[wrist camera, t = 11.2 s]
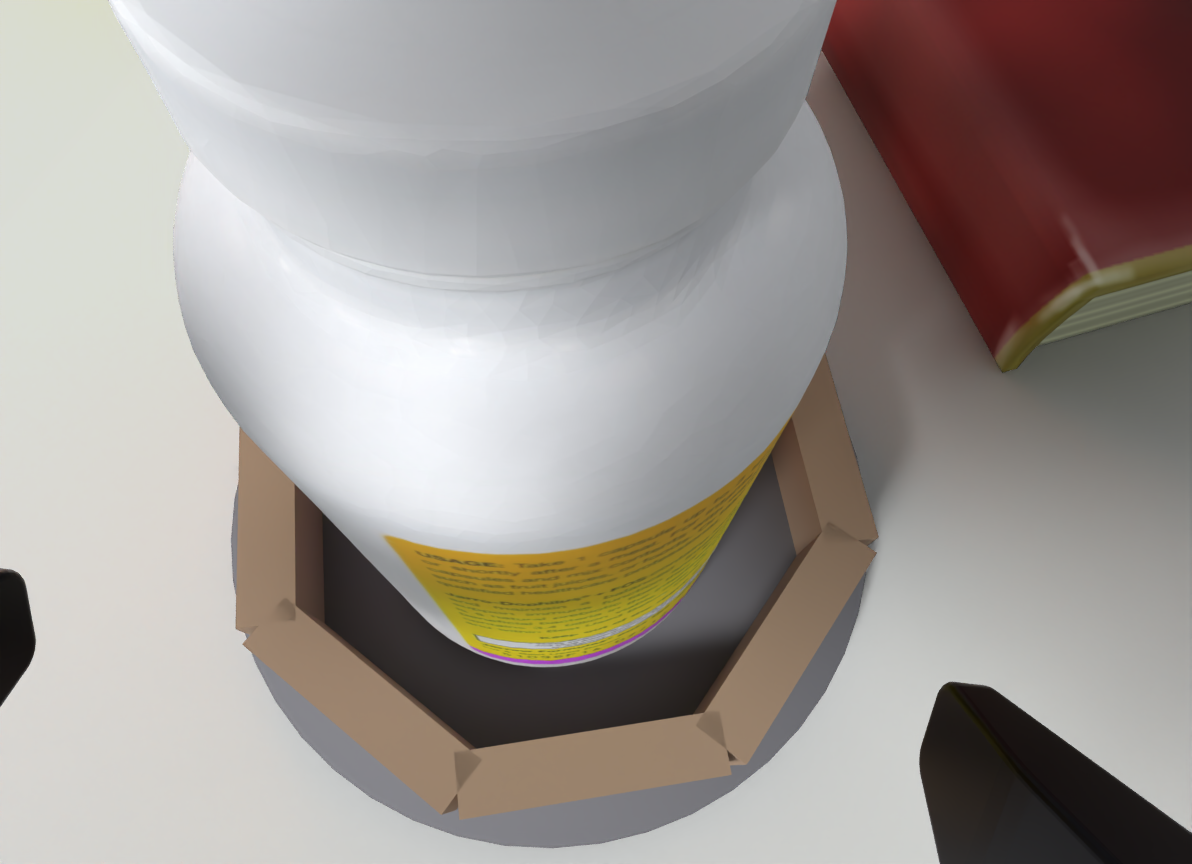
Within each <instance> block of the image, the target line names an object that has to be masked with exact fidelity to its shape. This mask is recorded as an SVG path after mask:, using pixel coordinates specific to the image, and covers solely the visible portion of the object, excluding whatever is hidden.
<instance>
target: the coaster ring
mask: <svg viewBox="0 0 1192 864" xmlns="http://www.w3.org/2000/svg"><path fill="white" fill-rule="evenodd" d="M877 538H878V533H877V530H876V526H875V523H874V519H873V516H872V513H871V509H870V506H869V502H868V499H867V495H866V492H865V489H864V485H863V482H862V478H861V474H860V470H859V465H858V461H857V456H856V453H855V450H854V448H853V445H852V442H851V439H850V437H849V434H848V430H847V427H846V423H845V420H844V416H843V413H842V409H841V406H840V403H839V399H838V396H837V392H836V389H835V385H834V382H833V379H832V375H831V372H830V368H829V365H828V361H827V358H826V355H825V353H824V355H823V357H822V359H821V361H820V363H819V365H818V367H817V370H816V372H815V374H814V376H813V378H812V380H811V382H810V384H809V386H808V387H807V389H806V391H805V393H804V395H803V397H802V399H801V401H800V403H799V404H798V406H797V408H796V410H795V411H794V413H793V415H792V417H791V418H790V420H789V422H788V423H787V425H786V427H785V428H784V430H783V432H782V434H781V435H780V437H779V439H778V440H777V442H776V444H775V446H774V447H773V449H772V451H771V453H770V454H769V456H768V458H767V460H766V461H765V463H764V465H763V467H762V468H761V470H760V472H759V473H758V475H757V477H756V479H755V480H754V482H753V484H752V486H751V487H750V489H749V491H748V493H747V494H746V496H745V498H744V499H743V501H742V503H741V505H740V506H739V508H738V510H737V512H736V513H735V515H734V517H733V519H732V520H731V522H730V524H729V526H728V527H727V529H726V531H725V532H724V534H723V536H722V538H721V539H720V541H719V543H718V545H717V547H716V549H715V551H714V552H713V553H712V555H711V557H710V558H709V560H708V562H707V563H706V565H705V567H704V568H703V570H702V572H701V573H700V575H699V576H698V578H697V579H696V581H695V582H694V584H693V585H692V587H691V589H690V590H689V591H688V593H687V594H686V596H685V597H684V598H683V600H682V601H681V602H680V603H679V604H678V605H677V607H676V608H675V609H674V610H673V611H672V612H671V613H670V614H669V616H668V617H667V618H665V619H664V620H663V621H662V622H661V623H660V624H659V625H658V626H657V627H655V628H654V629H653V630H651V631H650V632H649V633H647V634H646V635H645V636H643V637H642V638H640V639H638V640H637V641H635V642H634V643H632V644H630V645H628V646H626V647H624V648H623V649H621V650H619V651H617V652H614V653H612V654H609V655H606V656H603V657H601V658H598V659H595V660H592V661H588V662H584V663H579V664H574V665H568V666H559V667H531V666H522V665H514V664H509V663H505V662H501V661H498V660H494V659H490V658H488V657H485V656H482V655H479V654H477V653H475V652H473V651H471V650H469V649H467V648H465V647H463V646H461V645H459V644H457V643H456V642H454V641H452V640H451V639H449V638H448V637H446V636H445V635H444V634H442V633H441V632H440V631H438V630H437V629H436V628H434V627H433V626H432V625H431V624H430V623H429V622H428V621H427V620H426V619H425V618H424V617H423V616H422V615H421V614H420V613H419V612H418V611H417V610H416V609H415V608H414V607H413V606H412V605H411V604H410V603H409V602H408V601H407V600H406V599H405V598H404V596H403V595H402V594H401V593H400V592H399V591H398V590H397V589H396V588H395V587H394V586H393V585H392V584H391V583H390V582H389V581H388V580H387V579H386V578H385V577H384V576H383V575H382V574H381V573H380V572H379V571H378V570H377V568H376V567H375V566H374V565H373V564H372V563H371V562H370V561H369V560H368V559H367V558H366V557H365V556H364V555H363V554H362V553H361V552H360V551H359V550H358V549H357V548H356V547H355V546H354V545H353V544H352V542H351V541H350V540H349V539H348V538H347V537H346V536H345V535H344V534H343V533H342V532H341V531H340V530H339V529H338V528H337V527H336V526H335V525H334V524H333V523H332V522H331V521H330V519H329V518H328V517H327V516H326V515H325V514H324V513H323V512H322V511H321V510H320V509H319V508H318V507H317V506H316V505H315V504H314V503H313V502H312V501H311V500H310V499H309V498H308V497H307V496H306V495H305V494H304V493H303V492H302V491H301V490H300V489H299V488H298V487H297V486H296V485H295V484H294V483H293V482H292V481H291V480H290V479H289V478H288V477H287V475H286V474H285V473H284V472H283V471H282V470H281V469H280V468H279V467H278V466H277V465H276V464H275V463H274V462H273V461H272V460H271V459H270V458H269V457H268V456H267V455H266V454H265V453H264V452H263V451H262V450H261V449H260V448H259V447H258V446H257V445H256V444H255V443H254V442H253V441H252V440H251V438H250V437H249V436H248V435H247V434H246V433H245V432H244V431H243V430H242V429H241V427H240V433H239V482H238V487H237V491H236V495H235V502H234V513H233V524H232V535H231V547H232V568H233V582H234V587H235V593H236V629H237V630H239V631H242V632H244V633H245V634H246V637H247V640H246V641H245V642H244V643H243V645H244V646H245V647H246V648H247V649H248V650H250V651H251V652H252V655H253V657H254V660H255V663H256V665H257V667H258V669H259V670H260V672H261V674H262V676H263V678H264V680H265V682H266V684H267V686H268V688H269V690H270V692H271V693H272V695H273V697H274V699H275V701H276V702H277V704H278V705H279V707H280V708H281V709H282V711H283V712H284V713H285V715H286V716H287V718H288V719H289V720H290V722H291V723H292V724H293V726H294V727H295V729H296V730H297V731H298V733H299V734H300V735H301V737H302V738H303V739H304V740H305V741H306V742H307V743H308V744H309V745H310V746H311V747H312V748H313V749H314V750H315V751H316V752H317V753H318V754H319V755H320V756H321V757H322V758H323V759H324V760H325V761H326V762H327V763H328V764H329V765H330V766H331V767H332V768H333V769H334V770H335V771H336V772H338V773H339V774H340V775H342V776H343V777H344V778H346V779H347V780H348V781H350V782H351V783H352V784H354V785H355V786H356V787H358V788H359V789H360V790H362V791H363V792H364V793H366V794H367V795H368V796H370V797H371V798H373V799H375V800H376V801H378V802H380V803H382V804H384V805H386V806H388V807H389V808H391V809H393V810H395V811H397V812H399V813H401V814H402V815H404V816H406V817H408V818H410V819H412V820H414V821H417V822H420V823H422V824H425V825H428V826H431V827H434V828H436V829H439V830H442V831H445V832H447V833H450V834H453V835H456V836H459V837H464V838H469V839H474V840H479V841H484V842H489V843H494V844H499V845H504V846H523V847H543V848H559V847H569V846H579V845H590V844H600V843H605V842H609V841H613V840H617V839H621V838H625V837H629V836H633V835H637V834H641V833H646V832H649V831H651V830H654V829H656V828H659V827H661V826H664V825H666V824H669V823H671V822H674V821H676V820H678V819H681V818H683V817H686V816H688V815H691V814H693V813H695V812H696V811H698V810H700V809H701V808H703V807H705V806H707V805H708V804H710V803H712V802H713V801H715V800H717V799H718V798H720V797H722V796H724V795H725V794H727V793H729V792H730V791H732V790H733V789H735V788H736V787H737V786H738V785H740V784H741V783H742V782H743V781H745V780H746V779H747V778H748V777H750V776H751V775H752V774H753V773H755V772H756V771H757V770H758V769H760V768H761V767H762V766H763V765H765V764H766V763H767V762H768V761H770V759H771V758H772V757H773V756H774V755H775V754H776V753H777V752H778V751H779V750H780V749H781V748H782V747H783V746H784V744H785V743H786V742H787V741H788V740H789V739H790V738H791V737H792V736H793V735H794V734H795V733H796V732H797V731H798V730H799V728H800V727H801V726H802V724H803V723H804V721H805V720H806V719H807V717H808V716H809V714H810V713H811V711H812V710H813V709H814V707H815V706H816V704H817V703H818V701H819V700H820V699H821V697H822V696H823V694H824V693H825V691H826V689H827V687H828V685H829V683H830V681H831V679H832V677H833V675H834V673H835V671H836V669H837V667H838V666H839V664H840V662H841V660H842V658H843V656H844V654H845V651H846V648H847V645H848V642H849V639H850V636H851V633H852V630H853V627H854V624H855V621H856V618H857V616H858V612H859V607H860V602H861V596H862V591H863V586H864V581H865V575H866V570H867V568H868V566H869V565H870V563H871V562H872V560H873V558H874V557H875V555H876V553H877V552H875V551H874V550H872V549H871V548H869V547H868V545H869V544H870V543H872V542H873V541H874V540H876V539H877Z"/></svg>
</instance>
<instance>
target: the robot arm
mask: <svg viewBox="0 0 1192 864" xmlns="http://www.w3.org/2000/svg"><path fill="white" fill-rule="evenodd" d="M35 645H36V639H35V632H34V627H33V621H32V616H31V611H30V605H29V600H28V594H27V589H26V585H25V581H24V579H23V578H22V577H21V575H20V574H19V573H17V572H15V571H14V570H11V569H2V568H0V707H1V705H2V704H3V702H4V701H5V699H6V698H7V697H8V695H9V694H10V692H11V691H12V689H13V688H14V687H15V685H16V684H17V682H18V681H19V679H20V678H21V677H22V675H23V674H24V672H25V671H26V669H27V668H28V666H29V664H30V662H31V660H32V658H33V655H34V651H35ZM919 765H920V774H921V779H922V784H923V788H924V793H925V798H926V802H927V807H928V811H929V816H930V821H931V825H932V830H933V834H934V839H935V844H936V848H937V853H938V857H939V862H940V864H1192V833H1191V832H1189V831H1188V830H1187V829H1185V828H1184V827H1183V826H1181V825H1180V824H1178V823H1177V822H1176V821H1174V820H1173V819H1172V818H1170V817H1169V816H1167V815H1166V814H1165V813H1163V812H1162V811H1161V810H1159V809H1158V808H1156V807H1155V806H1154V805H1152V804H1151V803H1150V802H1148V801H1147V800H1145V799H1144V798H1143V797H1141V796H1140V795H1139V794H1137V793H1136V792H1134V791H1133V790H1132V789H1130V788H1129V787H1128V786H1126V785H1125V784H1123V783H1122V782H1121V781H1119V780H1118V779H1117V778H1115V777H1114V776H1112V775H1111V774H1110V773H1108V772H1107V771H1106V770H1104V769H1103V768H1101V767H1100V766H1099V765H1097V764H1096V763H1095V762H1093V761H1092V760H1090V759H1089V758H1088V757H1086V756H1085V755H1084V754H1082V753H1081V752H1079V751H1078V750H1077V749H1075V748H1074V747H1073V746H1071V745H1070V744H1069V743H1067V742H1066V741H1064V740H1063V739H1062V738H1060V737H1059V736H1058V735H1056V734H1055V733H1053V732H1052V731H1051V730H1049V729H1048V728H1047V727H1045V726H1044V725H1042V724H1041V723H1040V722H1038V721H1037V720H1036V719H1034V718H1033V717H1031V716H1030V715H1029V714H1027V713H1026V712H1025V711H1023V710H1022V709H1020V708H1019V707H1018V706H1016V705H1015V704H1014V703H1012V702H1011V701H1009V700H1008V699H1007V698H1005V697H1004V696H1003V695H1001V694H1000V693H998V692H997V691H996V690H994V689H993V688H991V687H988V686H985V685H976V684H968V683H959V682H948V683H946V684H945V685H943V686H942V688H941V689H940V690H939V693H938V695H937V698H936V701H935V704H934V707H933V710H932V713H931V717H930V720H929V723H928V726H927V729H926V732H925V736H924V739H923V742H922V745H921V749H920V760H919Z"/></svg>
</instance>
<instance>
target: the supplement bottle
mask: <svg viewBox="0 0 1192 864" xmlns="http://www.w3.org/2000/svg"><path fill="white" fill-rule="evenodd" d="M836 1H837V0H108V2H109V4H110V6H111V8H112V10H113V12H114V14H115V16H116V18H117V20H118V22H119V23H120V25H121V27H122V29H123V30H124V32H125V34H126V36H127V37H128V39H129V41H130V43H131V44H132V46H133V48H134V50H135V51H136V53H137V55H138V56H139V58H140V60H141V62H142V63H143V65H144V67H145V69H146V70H147V72H148V74H149V76H150V78H151V80H152V82H153V84H154V85H155V87H156V89H157V91H158V93H159V95H160V97H161V99H162V101H163V102H164V104H165V106H166V108H167V110H168V112H169V114H170V116H171V118H172V119H173V121H174V123H175V125H176V127H177V129H178V131H179V133H180V135H181V136H182V138H183V140H184V141H185V143H186V144H187V146H188V147H189V148H190V152H189V156H188V159H187V162H186V166H185V169H184V172H183V175H182V179H181V184H180V188H179V193H178V199H177V206H176V213H175V220H174V227H173V257H174V268H175V279H176V286H177V292H178V299H179V304H180V308H181V312H182V316H183V320H184V324H185V328H186V330H187V333H188V336H189V339H190V342H191V345H192V348H193V350H194V353H195V355H196V356H197V358H198V360H199V362H200V364H201V366H202V368H203V370H204V372H205V374H206V376H207V378H208V380H209V382H210V384H211V385H212V387H213V388H214V390H215V392H216V393H217V395H218V396H219V398H220V399H221V401H222V403H223V404H224V406H225V407H226V408H227V410H228V411H229V412H230V414H231V415H232V416H233V418H234V419H235V420H236V422H237V423H238V424H239V426H240V427H241V429H242V430H243V431H244V432H245V433H246V434H247V435H248V436H249V437H250V438H251V440H252V441H253V442H254V443H255V444H256V445H257V446H258V447H259V448H260V449H261V450H262V451H263V452H264V453H265V454H266V455H267V456H268V457H269V458H270V459H271V460H272V461H273V462H274V463H275V464H276V465H277V466H278V467H279V468H280V469H281V470H282V471H283V472H284V473H285V474H286V475H287V477H288V478H289V479H290V480H291V481H292V482H293V483H294V484H295V485H296V486H297V487H298V488H299V489H300V490H301V491H302V492H303V493H304V494H305V495H306V496H307V497H308V498H309V499H310V500H311V501H312V502H313V503H314V504H315V505H316V506H317V507H318V508H319V509H320V510H321V511H322V512H323V513H324V514H325V515H326V516H327V517H328V518H329V519H330V521H331V522H332V523H333V524H334V525H335V526H336V527H337V528H338V529H339V530H340V531H341V532H342V533H343V534H344V535H345V536H346V537H347V538H348V539H349V540H350V541H351V542H352V544H353V545H354V546H355V547H356V548H357V549H358V550H359V551H360V552H361V553H362V554H363V555H364V556H365V557H366V558H367V559H368V560H369V561H370V562H371V563H372V564H373V565H374V566H375V567H376V568H377V570H378V571H379V572H380V573H381V574H382V575H383V576H384V577H385V578H386V579H387V580H388V581H389V582H390V583H391V584H392V585H393V586H394V587H395V588H396V589H397V590H398V591H399V592H400V593H401V594H402V595H403V596H404V598H405V599H406V600H407V601H408V602H409V603H410V604H411V605H412V606H413V607H414V608H415V609H416V610H417V611H418V612H419V613H420V614H421V615H422V616H423V617H424V618H425V619H426V620H427V621H428V622H429V623H430V624H431V625H432V626H433V627H434V628H436V629H437V630H438V631H440V632H441V633H442V634H444V635H445V636H446V637H448V638H449V639H451V640H452V641H454V642H456V643H457V644H459V645H461V646H463V647H465V648H467V649H469V650H471V651H473V652H475V653H477V654H479V655H482V656H485V657H488V658H490V659H494V660H498V661H501V662H505V663H509V664H514V665H522V666H531V667H559V666H568V665H574V664H579V663H584V662H588V661H592V660H595V659H598V658H601V657H603V656H606V655H609V654H612V653H614V652H617V651H619V650H621V649H623V648H624V647H626V646H628V645H630V644H632V643H634V642H635V641H637V640H638V639H640V638H642V637H643V636H645V635H646V634H647V633H649V632H650V631H651V630H653V629H654V628H655V627H657V626H658V625H659V624H660V623H661V622H662V621H663V620H664V619H665V618H667V617H668V616H669V614H670V613H671V612H672V611H673V610H674V609H675V608H676V607H677V605H678V604H679V603H680V602H681V601H682V600H683V598H684V597H685V596H686V594H687V593H688V591H689V590H690V589H691V587H692V585H693V584H694V582H695V581H696V579H697V578H698V576H699V575H700V573H701V572H702V570H703V568H704V567H705V565H706V563H707V562H708V560H709V558H710V557H711V555H712V553H713V552H714V551H715V549H716V547H717V545H718V543H719V541H720V539H721V538H722V536H723V534H724V532H725V531H726V529H727V527H728V526H729V524H730V522H731V520H732V519H733V517H734V515H735V513H736V512H737V510H738V508H739V506H740V505H741V503H742V501H743V499H744V498H745V496H746V494H747V493H748V491H749V489H750V487H751V486H752V484H753V482H754V480H755V479H756V477H757V475H758V473H759V472H760V470H761V468H762V467H763V465H764V463H765V461H766V460H767V458H768V456H769V454H770V453H771V451H772V449H773V447H774V446H775V444H776V442H777V440H778V439H779V437H780V435H781V434H782V432H783V430H784V428H785V427H786V425H787V423H788V422H789V420H790V418H791V417H792V415H793V413H794V411H795V410H796V408H797V406H798V404H799V403H800V401H801V399H802V397H803V395H804V393H805V391H806V389H807V387H808V386H809V384H810V382H811V380H812V378H813V376H814V374H815V372H816V370H817V367H818V365H819V363H820V361H821V359H822V357H823V355H824V353H825V351H826V348H827V345H828V343H829V340H830V337H831V334H832V331H833V329H834V326H835V323H836V320H837V317H838V312H839V307H840V302H841V297H842V291H843V286H844V280H845V271H846V261H847V227H846V216H845V207H844V198H843V194H842V189H841V185H840V181H839V177H838V173H837V169H836V166H835V163H834V160H833V156H832V153H831V150H830V148H829V145H828V143H827V141H826V138H825V136H824V133H823V131H822V129H821V126H820V124H819V122H818V121H817V119H816V117H815V115H814V113H813V112H812V110H811V108H810V107H809V105H808V103H807V101H806V100H805V98H806V96H807V93H808V90H809V87H810V84H811V80H812V77H813V74H814V71H815V68H816V64H817V61H818V58H819V55H820V52H821V48H822V45H823V42H824V39H825V36H826V33H827V29H828V26H829V23H830V20H831V17H832V14H833V10H834V7H835V4H836Z"/></svg>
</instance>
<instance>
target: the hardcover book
mask: <svg viewBox="0 0 1192 864" xmlns="http://www.w3.org/2000/svg"><path fill="white" fill-rule="evenodd" d="M821 49H822V51H823V53H824V55H825V56H826V58H827V60H828V62H829V63H830V65H831V67H832V69H833V71H834V72H835V74H836V76H837V78H838V80H839V81H840V83H841V85H842V87H843V89H844V90H845V92H846V94H847V96H848V97H849V99H850V101H851V103H852V105H853V106H854V108H855V110H856V112H857V114H858V115H859V117H860V119H861V121H862V123H863V124H864V126H865V128H866V130H867V132H868V133H869V135H870V137H871V139H872V140H873V142H874V144H875V146H876V148H877V149H878V151H879V153H880V155H881V157H882V158H883V160H884V162H885V164H886V166H887V167H888V169H889V171H890V173H891V174H892V176H893V178H894V180H895V182H896V183H897V185H898V187H899V189H900V191H901V192H902V194H903V196H904V198H905V200H906V201H907V203H908V205H909V207H910V208H911V210H912V212H913V214H914V216H915V217H916V219H917V221H918V223H919V225H920V226H921V228H922V230H923V232H924V234H925V235H926V237H927V239H928V241H929V242H930V244H931V246H932V248H933V250H934V251H935V253H936V255H937V257H938V259H939V260H940V262H941V264H942V266H943V268H944V269H945V271H946V273H947V275H948V276H949V278H950V280H951V282H952V284H953V285H954V287H955V289H956V291H957V293H958V294H959V296H960V298H961V300H962V302H963V303H964V305H965V307H966V309H967V310H968V312H969V314H970V316H971V318H972V319H973V321H974V323H975V325H976V327H977V328H978V330H979V332H980V334H981V336H982V337H983V339H984V341H985V343H986V344H987V346H988V348H989V350H990V352H991V353H992V355H993V357H994V359H995V361H996V362H997V364H998V366H999V368H1000V370H1001V371H1002V373H1003V372H1006V371H1010V370H1013V369H1017V368H1018V367H1019V365H1020V364H1021V363H1022V362H1023V361H1024V359H1025V358H1026V357H1027V356H1028V355H1029V354H1030V353H1031V352H1032V351H1033V350H1034V349H1035V348H1036V347H1037V346H1040V345H1044V344H1048V343H1051V342H1055V341H1058V340H1062V339H1065V338H1069V337H1072V336H1076V335H1079V334H1083V333H1086V332H1090V331H1093V330H1097V329H1100V328H1104V327H1107V326H1111V325H1114V324H1118V323H1121V322H1125V321H1128V320H1132V319H1135V318H1139V317H1143V316H1146V315H1150V314H1153V313H1157V312H1160V311H1164V310H1167V309H1171V308H1174V307H1178V306H1181V305H1185V304H1188V303H1192V0H837V1H836V4H835V7H834V10H833V14H832V17H831V20H830V23H829V26H828V29H827V33H826V36H825V39H824V42H823V45H822V48H821Z"/></svg>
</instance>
